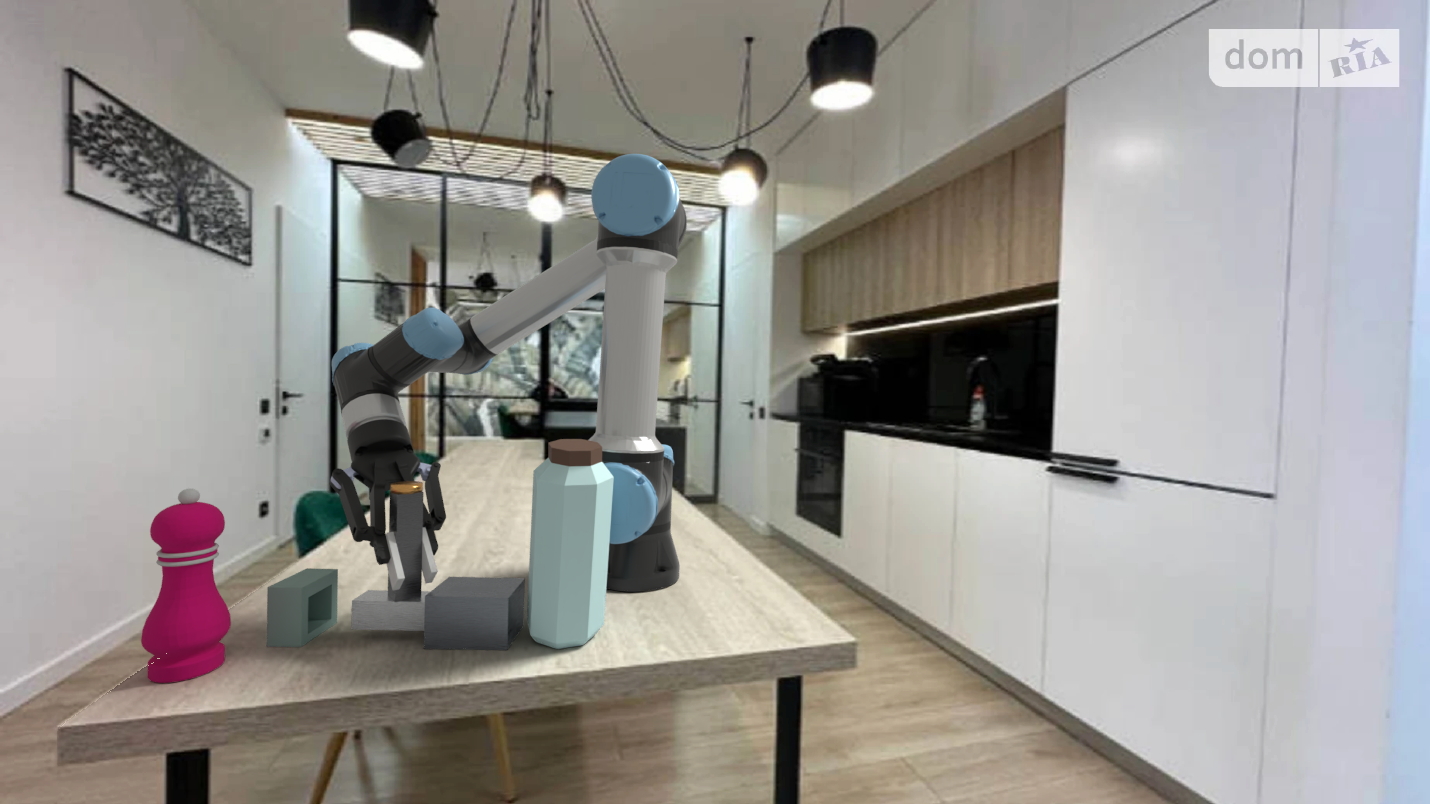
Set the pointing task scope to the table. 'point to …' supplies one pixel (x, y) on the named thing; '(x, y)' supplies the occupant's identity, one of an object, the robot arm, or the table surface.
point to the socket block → (301, 607)
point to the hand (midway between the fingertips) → (415, 580)
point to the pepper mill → (186, 593)
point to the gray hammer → (409, 600)
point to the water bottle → (569, 544)
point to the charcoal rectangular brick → (474, 613)
